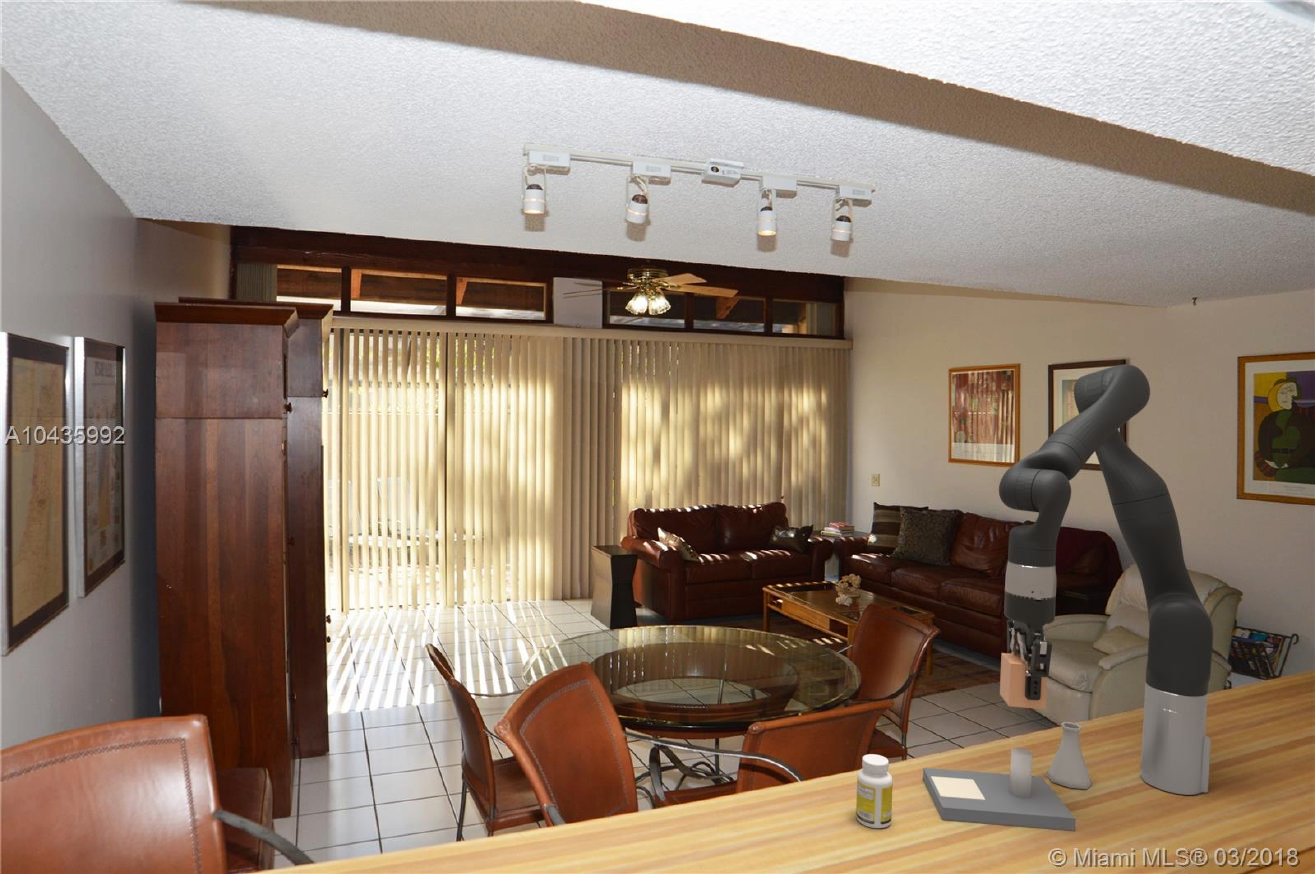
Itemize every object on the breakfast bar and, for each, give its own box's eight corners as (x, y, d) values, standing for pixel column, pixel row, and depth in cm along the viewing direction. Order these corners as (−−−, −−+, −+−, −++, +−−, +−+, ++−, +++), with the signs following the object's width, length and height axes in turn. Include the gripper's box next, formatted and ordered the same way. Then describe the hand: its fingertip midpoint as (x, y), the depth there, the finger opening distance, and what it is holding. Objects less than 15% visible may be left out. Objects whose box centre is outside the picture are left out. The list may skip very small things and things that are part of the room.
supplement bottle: (887, 813, 128) (890, 753, 127) (894, 831, 122) (896, 768, 122) (853, 810, 128) (855, 750, 128) (858, 828, 123) (860, 766, 122)
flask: (1090, 776, 143) (1093, 722, 142) (1093, 794, 136) (1096, 736, 136) (1045, 768, 146) (1048, 714, 145) (1046, 784, 139) (1049, 728, 139)
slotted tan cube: (999, 694, 134) (1001, 651, 133) (1035, 696, 133) (1037, 653, 133) (1008, 706, 128) (1010, 661, 128) (1045, 709, 127) (1047, 664, 127)
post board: (1041, 788, 138) (1044, 737, 137) (1074, 831, 124) (1077, 774, 123) (922, 778, 140) (925, 728, 139) (942, 819, 126) (944, 764, 126)
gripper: (992, 580, 137) (988, 676, 138) (1021, 599, 123) (1016, 707, 124) (1037, 582, 136) (1033, 679, 137) (1072, 602, 122) (1067, 710, 123)
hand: (1025, 692), depth 130 cm, fingers closed on slotted tan cube, 5 cm apart
